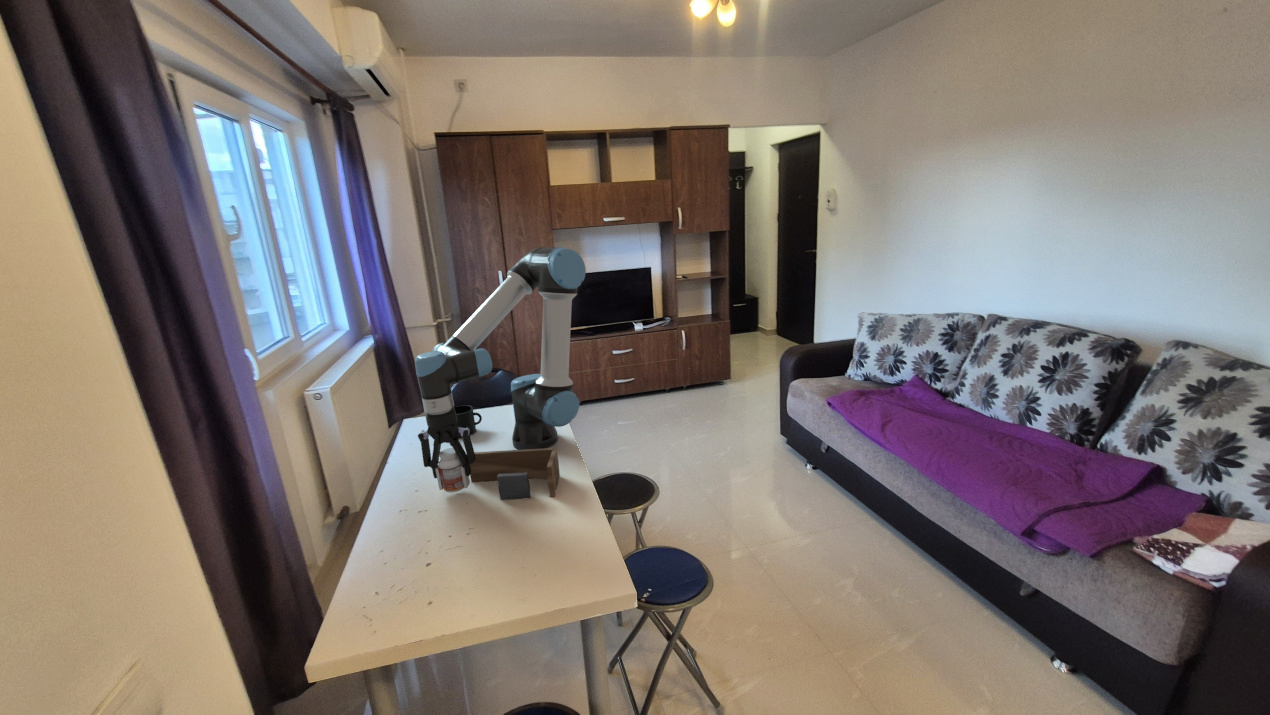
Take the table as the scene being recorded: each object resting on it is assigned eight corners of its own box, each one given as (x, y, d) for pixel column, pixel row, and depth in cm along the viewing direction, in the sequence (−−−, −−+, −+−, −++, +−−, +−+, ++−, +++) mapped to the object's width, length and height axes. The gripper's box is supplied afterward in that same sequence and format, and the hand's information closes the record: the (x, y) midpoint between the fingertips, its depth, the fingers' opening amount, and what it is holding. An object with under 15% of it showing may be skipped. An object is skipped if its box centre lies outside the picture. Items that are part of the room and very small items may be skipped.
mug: (483, 434, 185) (480, 410, 182) (448, 440, 182) (444, 416, 179) (483, 425, 193) (479, 402, 191) (449, 430, 190) (445, 407, 188)
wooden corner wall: (472, 480, 152) (468, 452, 150) (560, 475, 152) (557, 447, 150) (460, 501, 141) (455, 471, 139) (554, 496, 141) (551, 466, 139)
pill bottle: (448, 482, 148) (441, 447, 145) (469, 480, 148) (463, 445, 145) (440, 494, 142) (432, 457, 139) (462, 492, 142) (455, 456, 139)
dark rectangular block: (501, 496, 143) (498, 473, 141) (530, 495, 142) (527, 472, 141) (500, 499, 141) (497, 476, 139) (529, 498, 141) (526, 475, 139)
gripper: (398, 418, 135) (415, 496, 141) (471, 412, 135) (485, 491, 141) (409, 407, 142) (426, 482, 149) (479, 401, 142) (492, 477, 148)
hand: (454, 486), depth 145 cm, fingers closed on pill bottle, 6 cm apart
